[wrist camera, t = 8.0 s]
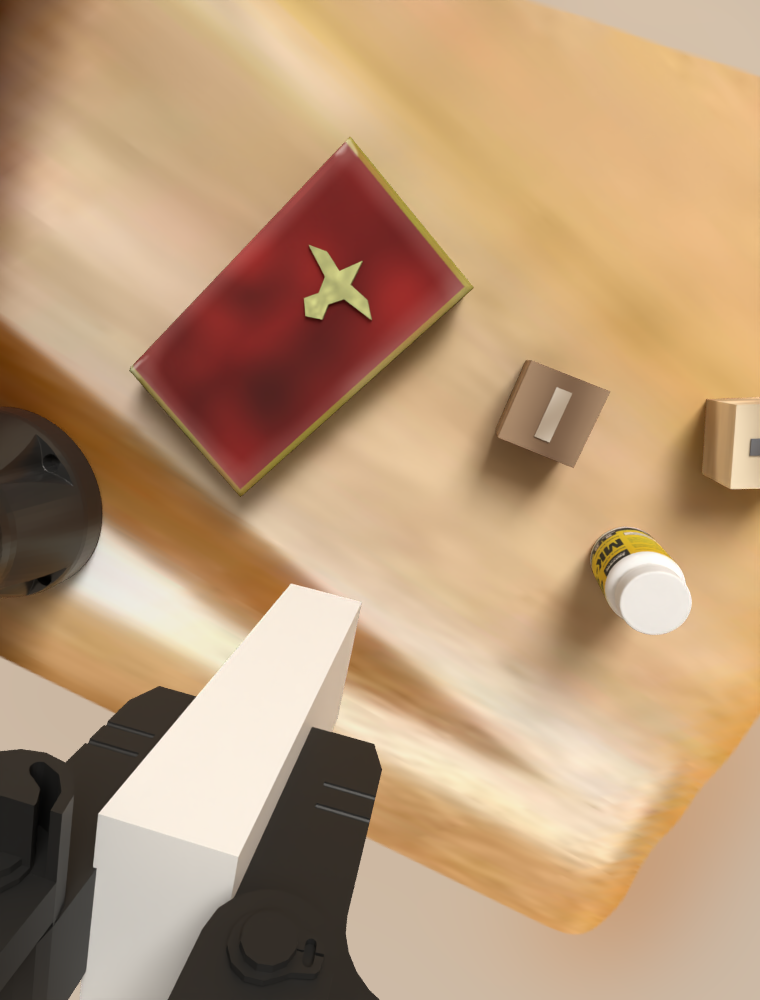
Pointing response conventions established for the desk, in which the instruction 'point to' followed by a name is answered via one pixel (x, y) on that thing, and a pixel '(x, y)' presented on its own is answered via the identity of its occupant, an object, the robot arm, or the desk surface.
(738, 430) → the beech block
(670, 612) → the supplement bottle
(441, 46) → the desk surface
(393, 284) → the hardcover book
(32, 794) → the robot arm
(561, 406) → the walnut block
